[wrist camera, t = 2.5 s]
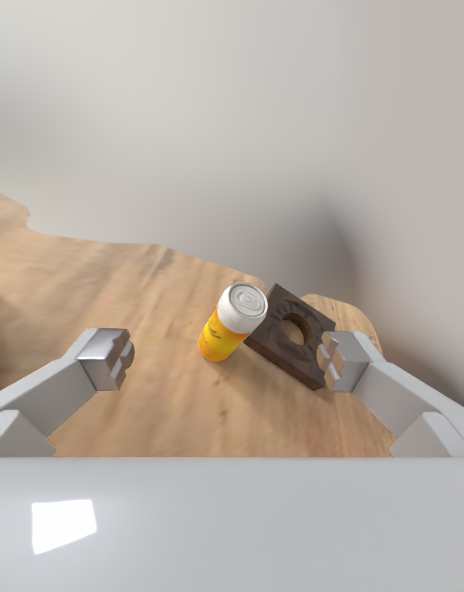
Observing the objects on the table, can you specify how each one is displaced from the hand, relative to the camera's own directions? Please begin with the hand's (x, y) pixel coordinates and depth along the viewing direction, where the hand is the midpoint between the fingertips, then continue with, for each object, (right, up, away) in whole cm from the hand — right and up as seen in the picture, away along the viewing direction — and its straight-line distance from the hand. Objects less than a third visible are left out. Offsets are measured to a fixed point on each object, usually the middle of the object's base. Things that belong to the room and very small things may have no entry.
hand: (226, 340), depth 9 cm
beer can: (-3, -7, +28) cm, 29 cm away
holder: (+12, -6, +35) cm, 38 cm away
